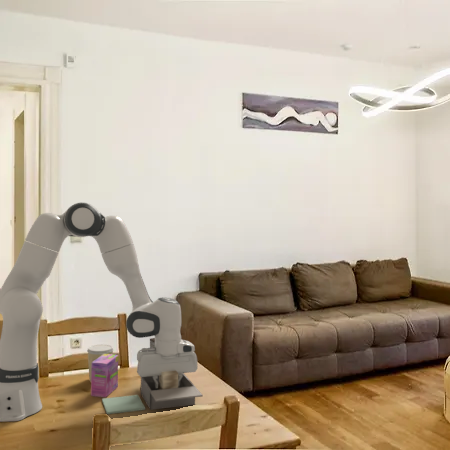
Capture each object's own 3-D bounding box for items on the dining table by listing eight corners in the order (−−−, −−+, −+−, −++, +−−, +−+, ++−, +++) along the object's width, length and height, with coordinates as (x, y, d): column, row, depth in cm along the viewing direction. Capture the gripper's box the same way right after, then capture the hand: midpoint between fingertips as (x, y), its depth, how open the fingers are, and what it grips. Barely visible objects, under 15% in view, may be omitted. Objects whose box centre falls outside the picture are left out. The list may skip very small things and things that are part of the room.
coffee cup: (109, 384, 196) (110, 351, 196) (84, 383, 197) (84, 351, 196) (115, 375, 206) (115, 344, 205) (90, 375, 206) (91, 344, 205)
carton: (155, 419, 166) (156, 374, 165) (140, 393, 188) (141, 353, 187) (202, 413, 171) (203, 369, 171) (182, 389, 193) (183, 350, 192)
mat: (106, 414, 169) (107, 412, 169) (102, 400, 181) (102, 398, 181) (145, 409, 174) (145, 407, 174) (137, 396, 185) (137, 394, 185)
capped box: (163, 404, 178) (163, 374, 178) (156, 395, 187) (157, 366, 186) (177, 402, 180) (178, 373, 179) (171, 393, 188) (171, 365, 188)
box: (106, 397, 183) (106, 363, 183) (90, 396, 184) (90, 362, 184) (118, 387, 193) (118, 354, 193) (103, 386, 195) (103, 353, 194)
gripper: (138, 351, 176) (138, 393, 177) (199, 346, 183) (198, 386, 184) (135, 346, 182) (134, 386, 182) (193, 341, 189) (193, 380, 189)
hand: (167, 386), depth 183 cm, fingers closed on capped box, 5 cm apart
